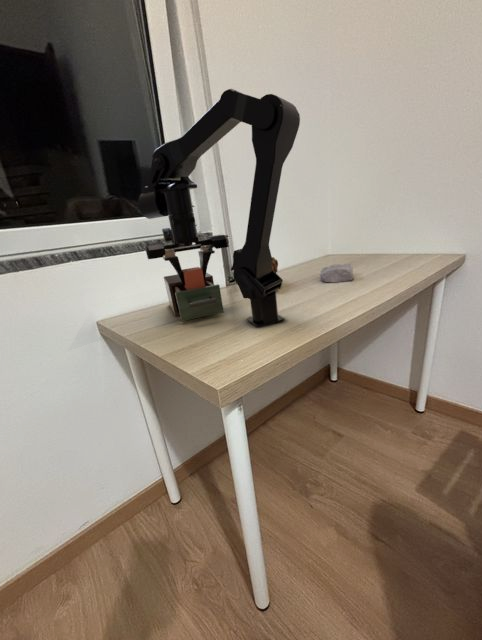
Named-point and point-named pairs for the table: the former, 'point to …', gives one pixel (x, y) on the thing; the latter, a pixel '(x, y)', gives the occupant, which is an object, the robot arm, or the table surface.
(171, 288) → the cabinet
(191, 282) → the block
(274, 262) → the wooden carving
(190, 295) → the drawer
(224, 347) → the table surface
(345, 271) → the stone block
